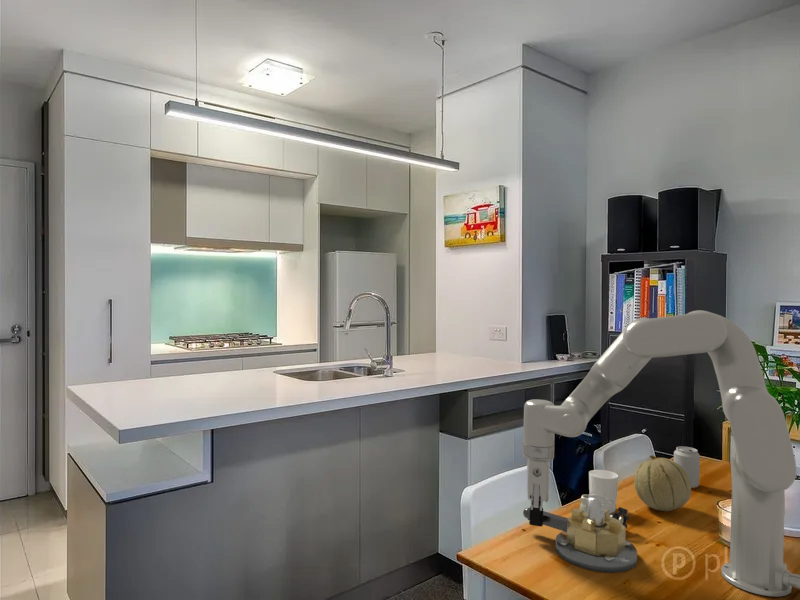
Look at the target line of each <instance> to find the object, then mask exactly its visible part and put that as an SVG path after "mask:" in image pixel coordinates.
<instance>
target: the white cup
mask: <svg viewBox="0 0 800 600" xmlns="http://www.w3.org/2000/svg"><path fill="white" fill-rule="evenodd" d="M618 487H619V474H618V473H616V472H614V471H610V470H606V469H593V470H589V471H588V490H589V492H588V493H589V494H588V495H597V496H601V497H603V498H605V509H607V510H609V513H611V514H614V513H615V512H616V506H617V497H618V489H619V488H618Z"/></svg>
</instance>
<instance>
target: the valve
mask: <svg viewBox="0 0 800 600" xmlns="http://www.w3.org/2000/svg"><path fill="white" fill-rule="evenodd" d="M588 496H590V494H582V495H581V501H580V502H581V503H580V505H579V509H581V510H583V513H588ZM617 510H618V511H619V512H617V511H615V512H613V513H609V517H612V518H615V519H617V520H620V521H621V524H622V525H624V526H625V527H626V529H628V524H627V521H629V519H630V516H628V515H627V514H628V509H627V508H623V507H620V506H619V507H618V508H617ZM621 516H622V517H621Z"/></svg>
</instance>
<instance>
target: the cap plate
mask: <svg viewBox="0 0 800 600" xmlns="http://www.w3.org/2000/svg"><path fill="white" fill-rule="evenodd" d="M589 495H590V494H589ZM587 519H588V520H592V521H594V527H596V528H604V527H605V498H603V497H601V496H597V495H590V496H588V518H587ZM555 551H556V553H557V554H558V556H560V558H561V559H563V560H564V561H566V562H568V563H569V564H571V565H573V566H576V567H579V568H581V569H584V570H588V571H593V572H600V573H608V574H609V573H611V574H614V573H623V572H626V571H630V570H632V569H634V568H635V567H636V565H637V563H638V551H637V548H636V546H635V545H634V544H633V543H631V542H630V541H629V540H627V539H626V538H625V549H624V550H623V551H622V552H621V553H620V554H619V555H617V556H595V555H592V554H589V553H586V552H583V551H580V550H577V549H574V547H573V546H572V545H571V544H570V542H569V541H568V540H567V532H565V531H562V530H561V531H560V532H559V533H558V534H557V535H556V537H555Z"/></svg>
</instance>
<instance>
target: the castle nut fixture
mask: <svg viewBox="0 0 800 600" xmlns="http://www.w3.org/2000/svg"><path fill="white" fill-rule="evenodd" d="M522 514H523V517H524V518H525V519H527V520H528V521H529V518H530V507H525V508H524V509H523V512H522ZM587 518H588V513H583V510H581V509H580V508H576V507H575V508H573V509H572V510H571V516H569V517H564V516H562V515H558V514H554V513H551V512H548V511H545V510H543V526H546V527H550V528H553V529H555V530H559V531H561V532H562V531H565V532H567V540H568V541H569V542H570V544H571V545H572V546H573V547H574V549H577V550H580V551H583V552H586V553H589V554H592V555H595V556H617V555H619V554H620V553H621V552H622V551H623V550H624V549H625V539H626V532H627V531H626V530H627V528H626V527H625V526H624V525H622V524H621V521H620V520H617V519H615V518H612V517H609V510H607V509H605V527H604V528H596V527H594V521H592V520H588V519H587Z"/></svg>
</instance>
